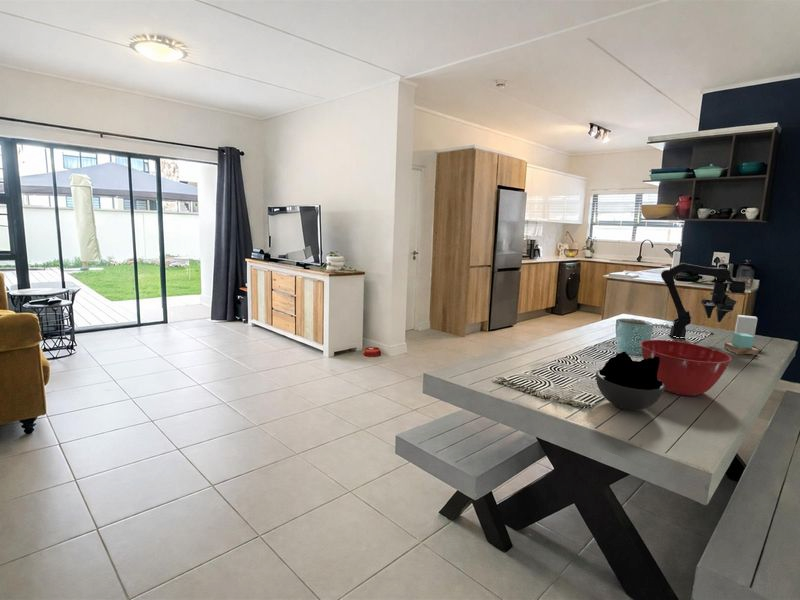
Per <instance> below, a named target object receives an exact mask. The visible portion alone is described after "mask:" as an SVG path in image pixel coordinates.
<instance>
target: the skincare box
mask: <svg viewBox="0 0 800 600" xmlns="http://www.w3.org/2000/svg"><path fill="white" fill-rule="evenodd" d="M735 322H736V323H735V328H734V333H743V334H748V335H751V336H754V337H755V334H756V330H757V329H756V328H757V324H758V317H757V316H755V315H754V316H753V315H752V316H751V315H743V314H738V315H737V317H736V321H735Z"/></svg>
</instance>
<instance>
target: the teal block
mask: <svg viewBox="0 0 800 600" xmlns="http://www.w3.org/2000/svg"><path fill="white" fill-rule="evenodd" d="M731 340H732V341H731V343H732V345H735V346H737V347H740V348H752V347H753V346H754V341H755V336H751V335H748V334H743V333H735V332H733V337H732V339H731Z"/></svg>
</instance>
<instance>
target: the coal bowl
mask: <svg viewBox="0 0 800 600" xmlns="http://www.w3.org/2000/svg"><path fill="white" fill-rule="evenodd" d="M659 364H660V359H659V357H654V358H648V359H643V358H642V359H641V360H639V361H638V360H633V359H632V357H631V356H630V355H629V354H628V353H627V352H626V351H622V352H619V353H616V354H615V355H614V356H612V357H610V358H609V359H608V360H607V361H606V362H605V364H604V366H603V367H602V368H600V369H598V370H597V371H596V372H595V379H596V380H595V381H596V385H597V388H598V390H599V392H600V394H601V395H602V396H603V398H605V400H606V401H608V402H609V403H610V404H612V405H613V406H614V407H617V408H620V409H624V410H627V411H640V410H644V409H647V408H649V407H652V406H653V405H654V404H655V403H656V402H658V401H659V399H661V397H662V396H663V394H664V391H665V390H664V389H665V385H664V383H663V382H662V381H660V380H658V379H657V373H658V368H659Z"/></svg>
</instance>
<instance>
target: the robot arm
mask: <svg viewBox="0 0 800 600" xmlns="http://www.w3.org/2000/svg"><path fill="white" fill-rule="evenodd" d="M683 271H685V272H691V273H697V274H702V275H708V276H711V277H713V279H711V280H710V283H713V288H712V292H710V295H711V298H702V299H701V305H702V306H703V309H704V312H705V314H706V317H707V319H711V316H712V314H713V310H714V309H715V308H716V309H715V311H716V319H717V322H718V323H721V322H722V320H723V319H724V317H725V316H726V314H728V313H730V312H731V311H732V312H733V311H734V308H735V305H736V304H737V302H738V301H737V300H734V299H733V298H730V296H729V295H728V294H727V291H729V293H730V294H739V295H744V294H745V293H746V281H745V280H735V279H734V280H733V278H732V277H731V271H730V270H729V269H727V268H725V267H709V266H701V265H696V264H695V265H694V264H690V263H685V262H680V263H679V264H678V265H675V266H673V267H671V268H669V269H664V270H662V271H661V272H660V276H661V278H662V280H663V282H664V284H665V285H666V286H667V288H668V292H669V293H670V296H671V300H672V301H673V302H672V303H673V305H674V308H675V309H676V315H677V318H676V319H674V320H672V324H673V325H671V326H670V332H669V334H670V335H671V336H676V337H685V338H686V334H687V326H688V325H689V326H690V324H691V322H692V316H691V313H690V311H689V309H686V310H685V308H684V304H683V302H682V300H681V297H680V294H679V292H678V290H677V287H676V283H675V278H674V276H676V275H678V274H680V273H681V272H683ZM724 280H725V281H726V282H725V281H724ZM671 336H670V337H671Z"/></svg>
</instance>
